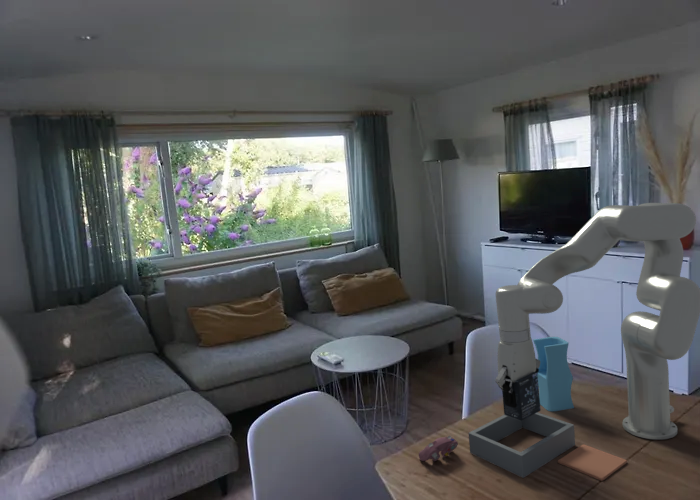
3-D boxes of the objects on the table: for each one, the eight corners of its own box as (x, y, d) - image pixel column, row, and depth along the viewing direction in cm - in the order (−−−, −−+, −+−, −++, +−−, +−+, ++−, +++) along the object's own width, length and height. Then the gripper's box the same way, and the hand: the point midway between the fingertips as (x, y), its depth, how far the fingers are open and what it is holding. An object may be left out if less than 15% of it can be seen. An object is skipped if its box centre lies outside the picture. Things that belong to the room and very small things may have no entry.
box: (522, 422, 127) (517, 381, 126) (503, 415, 132) (499, 376, 130) (541, 411, 131) (537, 371, 130) (523, 405, 136) (519, 367, 135)
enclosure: (521, 424, 145) (520, 406, 145) (575, 444, 132) (574, 424, 131) (470, 452, 133) (468, 432, 133) (523, 478, 120) (521, 455, 119)
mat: (583, 446, 131) (583, 444, 131) (627, 462, 122) (626, 460, 121) (558, 462, 124) (558, 460, 124) (602, 481, 115) (601, 478, 115)
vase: (536, 401, 159) (532, 339, 157) (560, 397, 160) (556, 336, 157) (549, 412, 151) (545, 346, 149) (574, 408, 152) (570, 343, 150)
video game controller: (426, 471, 130) (431, 452, 126) (416, 456, 133) (421, 438, 130) (456, 458, 134) (462, 440, 131) (446, 444, 138) (451, 427, 134)
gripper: (523, 323, 137) (529, 385, 139) (480, 341, 127) (487, 407, 129) (548, 327, 131) (554, 392, 133) (504, 346, 121) (511, 416, 123)
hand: (521, 399), depth 131 cm, fingers closed on box, 8 cm apart
